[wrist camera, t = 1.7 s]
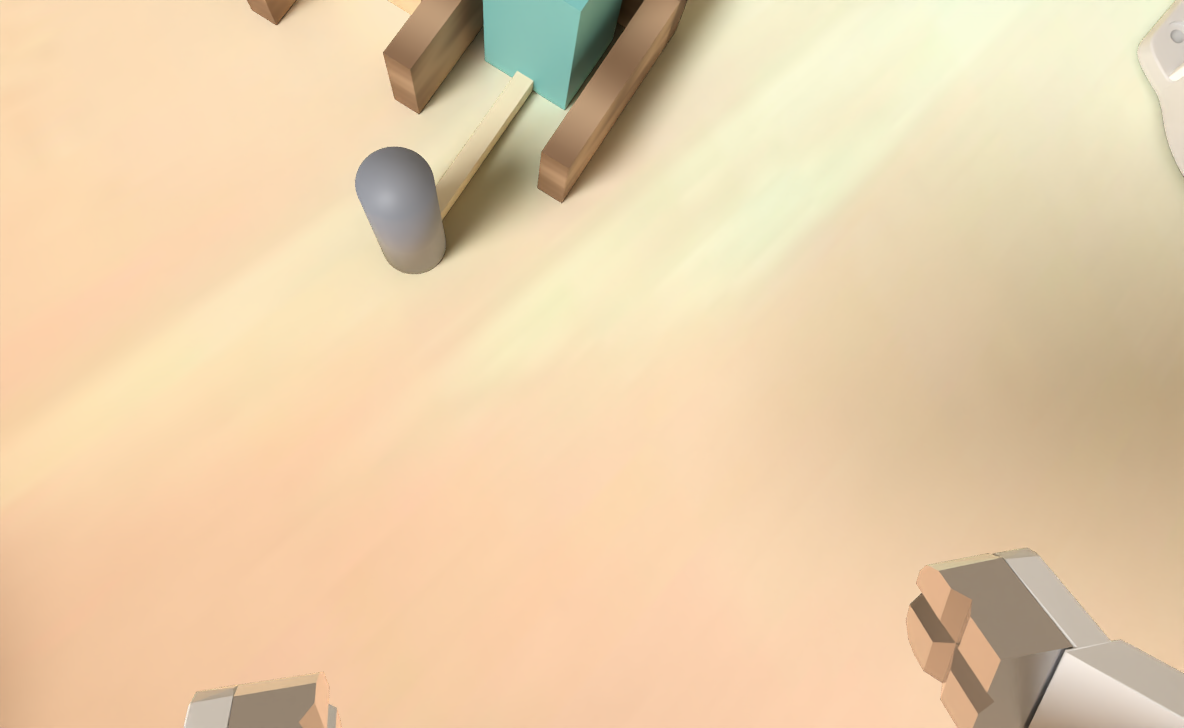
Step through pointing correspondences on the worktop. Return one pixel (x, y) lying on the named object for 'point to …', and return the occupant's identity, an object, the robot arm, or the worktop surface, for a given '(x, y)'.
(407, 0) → the oak block
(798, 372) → the worktop surface
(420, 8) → the tray
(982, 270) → the worktop surface
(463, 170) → the block
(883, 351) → the worktop surface
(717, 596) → the worktop surface
